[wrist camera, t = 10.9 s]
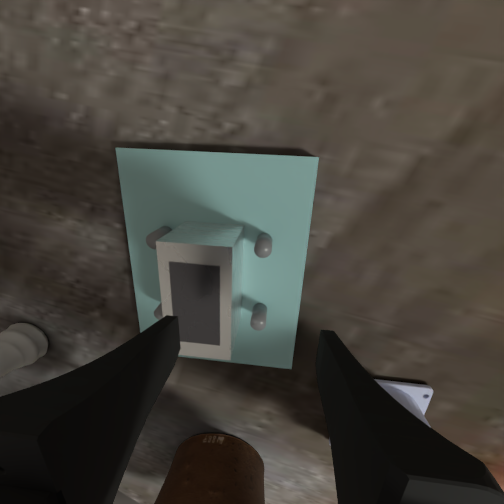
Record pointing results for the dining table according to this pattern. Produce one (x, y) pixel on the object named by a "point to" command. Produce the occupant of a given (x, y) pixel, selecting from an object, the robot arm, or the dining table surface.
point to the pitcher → (214, 473)
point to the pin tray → (229, 212)
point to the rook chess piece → (21, 346)
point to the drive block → (203, 285)
